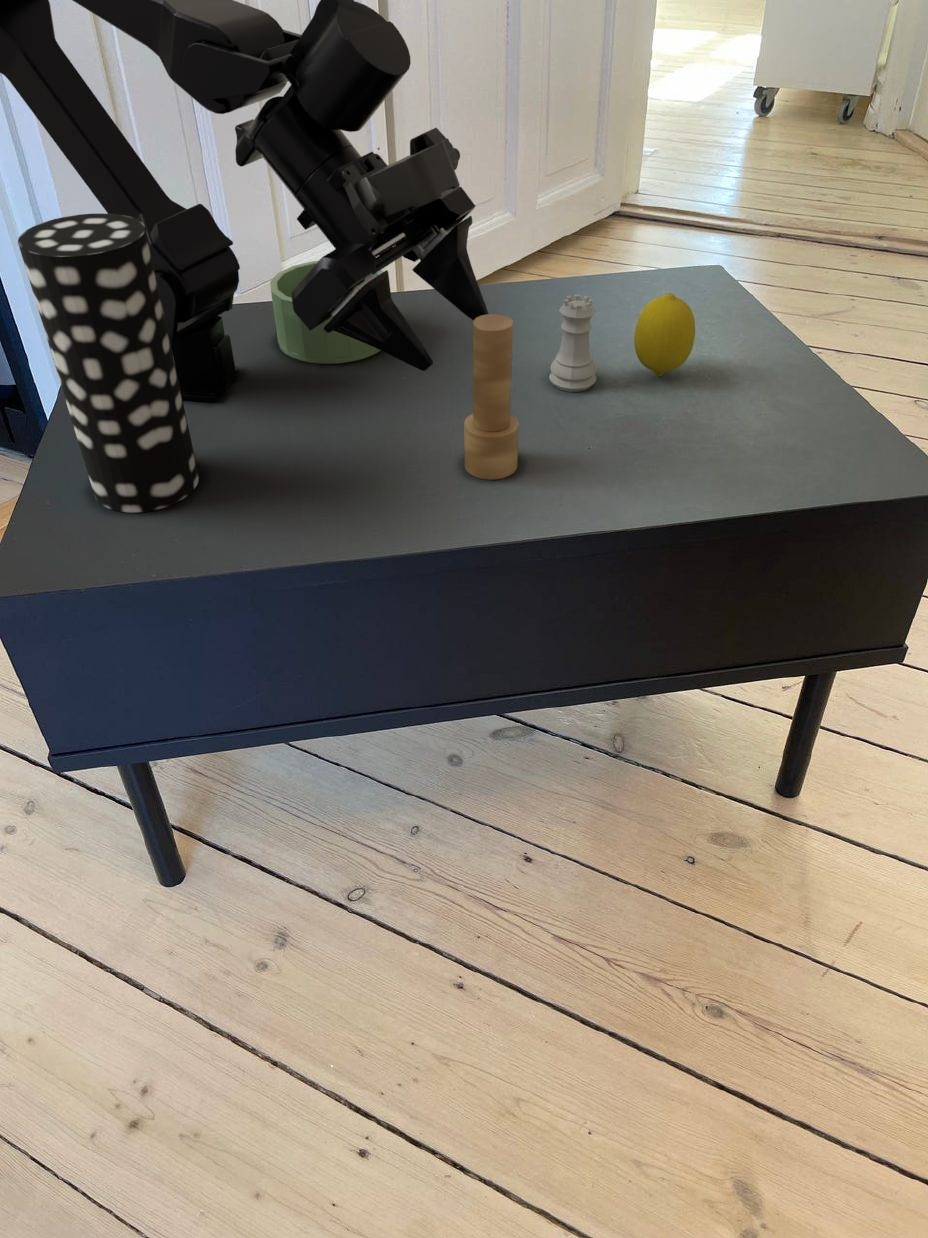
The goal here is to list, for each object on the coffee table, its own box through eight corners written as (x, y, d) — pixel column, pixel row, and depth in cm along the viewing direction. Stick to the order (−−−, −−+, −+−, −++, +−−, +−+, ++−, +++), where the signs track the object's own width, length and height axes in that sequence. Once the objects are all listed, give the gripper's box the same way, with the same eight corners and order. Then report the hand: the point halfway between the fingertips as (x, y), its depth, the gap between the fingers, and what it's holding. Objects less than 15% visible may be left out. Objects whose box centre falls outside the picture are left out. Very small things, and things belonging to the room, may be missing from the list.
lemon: (623, 382, 92) (632, 300, 87) (638, 358, 96) (647, 278, 90) (681, 393, 90) (694, 309, 85) (693, 367, 94) (706, 286, 89)
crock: (262, 358, 96) (253, 299, 92) (299, 311, 105) (292, 256, 101) (373, 368, 94) (369, 308, 90) (401, 320, 103) (399, 263, 99)
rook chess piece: (593, 395, 90) (601, 312, 85) (545, 391, 91) (550, 308, 85) (598, 373, 93) (605, 292, 88) (552, 369, 94) (556, 288, 89)
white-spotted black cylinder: (111, 456, 82) (44, 212, 69) (209, 457, 82) (159, 213, 69) (79, 512, 76) (-3, 256, 63) (184, 513, 76) (125, 256, 63)
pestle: (459, 476, 80) (458, 331, 71) (469, 449, 83) (469, 307, 75) (512, 482, 79) (517, 336, 71) (521, 454, 82) (526, 311, 74)
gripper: (307, 129, 60) (466, 333, 63) (451, 69, 73) (578, 242, 76) (227, 238, 68) (372, 414, 71) (369, 167, 81) (487, 320, 84)
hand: (458, 343), depth 75 cm, fingers open, 9 cm apart
